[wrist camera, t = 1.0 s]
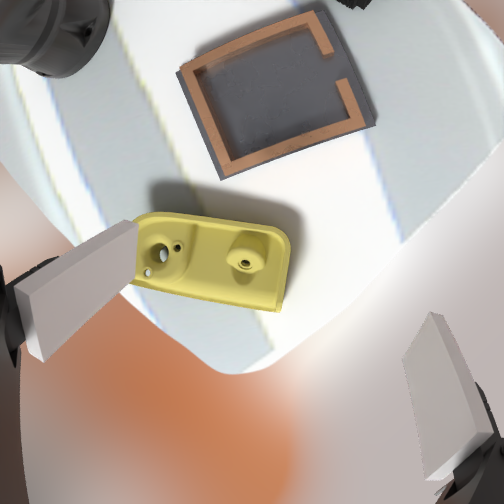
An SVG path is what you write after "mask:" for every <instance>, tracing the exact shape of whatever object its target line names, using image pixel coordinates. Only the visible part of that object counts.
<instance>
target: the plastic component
mask: <svg viewBox="0 0 504 504" xmlns="http://www.w3.org/2000/svg"><path fill="white" fill-rule="evenodd" d="M132 222H134V223H137V224H139V228H138V240H137V253H136V268H135V278H134V279H133V280H132V281H131V282H130V283H129V284H132V285H136V286H140V287H144V288H149V289H153V290H157V291H162V292H166V293H171V294H175V295H180V296H185V297H190V298H195V299H200V300H205V301H210V302H216V303H221V304H227V305H233V306H238V307H244V308H250V309H256V310H262V311H269V312H278V313H280V312H281V309H282V303H283V297H284V291H285V285H286V278H287V272H288V266H289V259H290V253H291V245H290V242H289V239H288V237H287V236H286V234H285V233H284V232H283V231H281V230H280V229H278V228H276V227H273V226H267V225H260V224H253V223H246V222H239V221H232V220H225V219H218V218H211V217H204V216H196V215H189V214H181V213H172V212H151V213H146V214H143V215H141V216H139V217H137V218H136V219H134V220H133V221H132ZM176 245H180V246H181V250H179V249H177V248H176V247H175V246H176ZM164 246H167V248H168V250H169V255H168V258H167V260H166V261H165V262H162V260H161V259H160V251H161V249H162V248H163V247H164ZM242 260H248V261H249V262H250V263H249V264H246V263H243V262H242ZM147 269H149V270H150V273H151V274H150V276H149V277H148V276H146V274H145V273H146V270H147Z"/></svg>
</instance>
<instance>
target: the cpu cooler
mask: <svg viewBox="0 0 504 504" xmlns="http://www.w3.org/2000/svg"><path fill="white" fill-rule="evenodd" d="M336 1H338V2H339V3H340V2H341V3H342V4H343V5H345V6H346V7H347V6H349V8H351V9H352V10H353V9H354V8H355V7H356V6H358V7H360V8H361V9H363V10H364V9H365V7H367V5H368V4H369V3H370V2H371V1H372V0H336Z"/></svg>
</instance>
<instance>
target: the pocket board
mask: <svg viewBox="0 0 504 504" xmlns="http://www.w3.org/2000/svg"><path fill="white" fill-rule="evenodd" d="M179 68H180V70H179V71H178V72H176V75H177V78H178V80H179V83H180V85H181V87H182V90H183V92H184V95H185V97H186V99H187V102H188V104H189V106H190V109H191V111H192V114H193V116H194V118H195V121H196V123H197V126H198V128H199V130H200V133H201V135H202V138H203V140H204V142H205V145H206V147H207V149H208V152H209V154H210V157H211V159H212V161H213V164H214V166H215V169H216V171H217V173H218V176H219V178H220V180H221V181H222V180H224V179H227V178H229V177H231V176H234V175H236V174H239V173H242V172H244V171H247V170H249V169H252V168H254V167H257V166H260V165H262V164H265V163H267V162H270V161H273V160H275V159H278V158H281V157H284V156H286V155H289V154H292V153H295V152H297V151H300V150H303V149H306V148H309V147H312V146H315V145H317V144H320V143H323V142H326V141H329V140H332V139H335V138H338V137H341V136H344V135H348V134H351V133H354V132H357V131H360V130H363V129H367V128H370V127H373V126H376V124H375V122H374V119H373V116H372V114H371V111H370V108H369V106H368V103H367V101H366V98H365V96H364V93H363V91H362V89H361V86H360V84H359V82H358V79H357V77H356V75H355V72H354V70H353V68H352V66H351V63H350V61H349V59H348V57H347V55H346V53H345V51H344V49H343V47H342V44H341V42H340V40H339V38H338V36H337V34H336V32H335V30H334V29H333V27H332V25H331V23H330V21H329V19H328V17H327V15H326V13H325V12H324V10H323V11H320V12H316V13H315V12H314V11H313V10H312V11H309V12H305V13H302V14H299V15H296V16H293V17H290V18H288V19H285V20H282V21H279V22H277V23H274V24H271V25H269V26H266V27H263V28H261V29H258V30H256V31H254V32H251V33H249V34H246V35H244V36H242V37H239V38H237V39H235V40H233V41H230V42H228V43H226V44H224V45H222V46H220V47H217V48H215V49H213V50H211V51H209V52H207V53H205V54H203V55H201V56H199V57H197V58H195V59H193V60H191V61H190V62H188V63H186V64H184V65H182V66H180V67H179Z"/></svg>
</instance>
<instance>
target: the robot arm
mask: <svg viewBox="0 0 504 504" xmlns="http://www.w3.org/2000/svg"><path fill="white" fill-rule="evenodd" d="M108 21H109V4H108V1H107V0H0V64H19V65H22V66H24V67H26V68H28V69H30V70H31V71H34V72H36V73H37V74H39V75H41V76H43V77H46V78H65V77H68V76H71V75H73V74H74V73H76V72H78V71H79V70H80V69H81V68H83V67H84V66H85V65H86V64H87V63H88V62H89V60H90V59H91V58H92V57H93V55H94V54H95V52H96V51H97V49H98V48H99V46H100V44H101V42H102V40H103V38H104V35H105V33H106V30H107V26H108ZM138 228H139V224H137V223H134V222H131V221H128V220H123V221H121V222H119V223H117V224H116V225H114V226H112V227H110V228H108V229H107V230H105V231H103V232H101V233H99V234H98V235H96V236H94V237H92V238H91V239H89V240H87V241H86V242H84V243H82V244H80V245H79V246H77V247H75V248H74V249H72V250H70V251H69V252H67V253H65V254H64V255H62V256H60V257H59V256H57V257H53V258H50V259H47V260H45V261H43V262H42V263H40V264H38V265H37V267H33V268H32V269H30V271H27V272H25V273H24V274H22V275H21V276H19V277H18V278H16V279H14V280H13V281H11V282H10V283H8V284H7V285H5V281H4V276H3V270H2V266H1V265H0V504H29V499H28V494H27V488H26V481H25V474H24V466H23V457H22V446H21V432H20V366H21V348H20V345H21V344H22V343H23V342H24V341H25V340H26V344H27V347H28V351H29V353H30V354H32V355H33V356H35V357H36V358H38V359H39V360H41V361H42V362H45V361H46V360H47V359H48V358H49V357H50V356H51V355H52V354H53V353H54V352H55V351H56V350H57V349H58V348H59V347H60V346H62V345H63V344H64V343H65V342H66V340H68V339H69V338H70V337H71V336H72V335H73V334H74V333H75V332H76V331H77V330H78V329H79V328H80V327H82V326H83V324H85V323H86V322H87V321H88V320H89V319H90V318H91V317H92V316H93V315H94V314H95V313H97V312H98V311H99V310H100V309H101V308H102V307H103V306H104V305H105V304H106V303H108V302H109V301H110V300H111V299H112V298H113V297H114V296H115V295H116V294H117V293H119V292H120V291H121V290H122V289H123V288H124V287H125V286H126V285H128V284H129V283H130V282H131V281H132V280H133V279H134V278H135V268H136V253H137V240H138ZM402 361H403V365H404V369H405V374H406V378H407V382H408V386H409V391H410V396H411V400H412V405H413V410H414V415H415V421H416V426H417V431H418V437H419V443H420V448H421V456H422V462H423V470H424V477H425V480H442V479H444V478H445V477H446V476H447V475H449V474H450V473H451V472H452V471H453V474H454V479H453V480H452V481H450V482H449V483H448V484H446V485H445V486H444V487H442V488H441V489H440V490H438V491H437V492H436V493H435V495H436V496H437V495H438V494H440V493H441V492H443V493H442V494H441V496H440V498H439V499H438V501H437V502H436V504H504V438H501V436H500V433H499V431H498V428H497V425H496V422H495V420H494V417H493V414H492V412H491V411H490V407H489V404H488V403H487V399H486V397H485V394H484V392H483V390H482V389H481V388H480V387H479V385H478V384H477V383H476V382H474V379H473V377H472V375H471V373H470V370H469V368H468V366H467V364H466V361H465V359H464V357H463V355H462V353H461V351H460V349H459V346H458V344H457V342H456V340H455V338H454V336H453V334H452V332H451V330H450V328H449V326H448V324H447V322H446V320H445V318H444V317H443V315H440V314H436V313H433V312H429V314H428V315H427V317H426V319H425V321H424V323H423V324H422V326H421V328H420V330H419V332H418V333H417V335H416V337H415V338H414V340H413V342H412V343H411V345H410V347H409V349H408V350H407V352H406V353H405V355H404V357H403V358H402Z"/></svg>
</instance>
